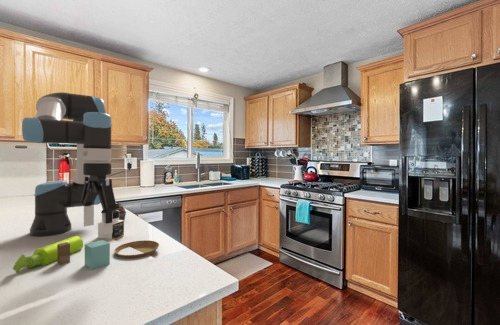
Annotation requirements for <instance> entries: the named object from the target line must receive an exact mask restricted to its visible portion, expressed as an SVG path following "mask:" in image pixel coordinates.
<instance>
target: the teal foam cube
mask: <svg viewBox="0 0 500 325" xmlns="http://www.w3.org/2000/svg"><path fill="white" fill-rule="evenodd" d="M110 244H111V243H110V242H108V241H106V240H104V239H101V240H95V241H92V242H88V243H84V266H85V267H87V268H88V269H89V270H95V269H98V268H101V267H104V266H107V265H109V264H111V262H110V258H111V257H110V256H111V255H110V254H111V253H110V252H111V251H110V250H111V247H110Z"/></svg>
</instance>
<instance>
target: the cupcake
mask: <svg viewBox="0 0 500 325" xmlns="http://www.w3.org/2000/svg"><path fill="white" fill-rule="evenodd" d="M116 206H117V210H118V211H119V219H118V220H124V221H125V219H126V214H127V211H126V209H125V207H124V206H123V204H121V203H118V202H116Z"/></svg>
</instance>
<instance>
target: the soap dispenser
mask: <svg viewBox="0 0 500 325" xmlns="http://www.w3.org/2000/svg"><path fill="white" fill-rule="evenodd" d="M65 242H68V243H70V255H72V254H74V253H76V252H79V251H82V249H83V247H84V241H83V239H82V238H81V237H80V236H79V235H73V236H70V237H68V238H65V239H62V240H58V241H57V242H54V243H51V244H48V245H45V246H42V247H39V248H37V249H35V250H34V251H33V254H32V255H29V256H26V255H25V254H21V255H20V256H19V258H18V259H17V261H15V264H14V265H13V267H12V270H14V272H16V273H20V271H21V270H22V269H24V268H29V269H31V268H33V267H36V266H39V265H41V266H42V265H45V266H46V265H48V264H52V263H53V262H55V261H57V244H61V243H65Z"/></svg>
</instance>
